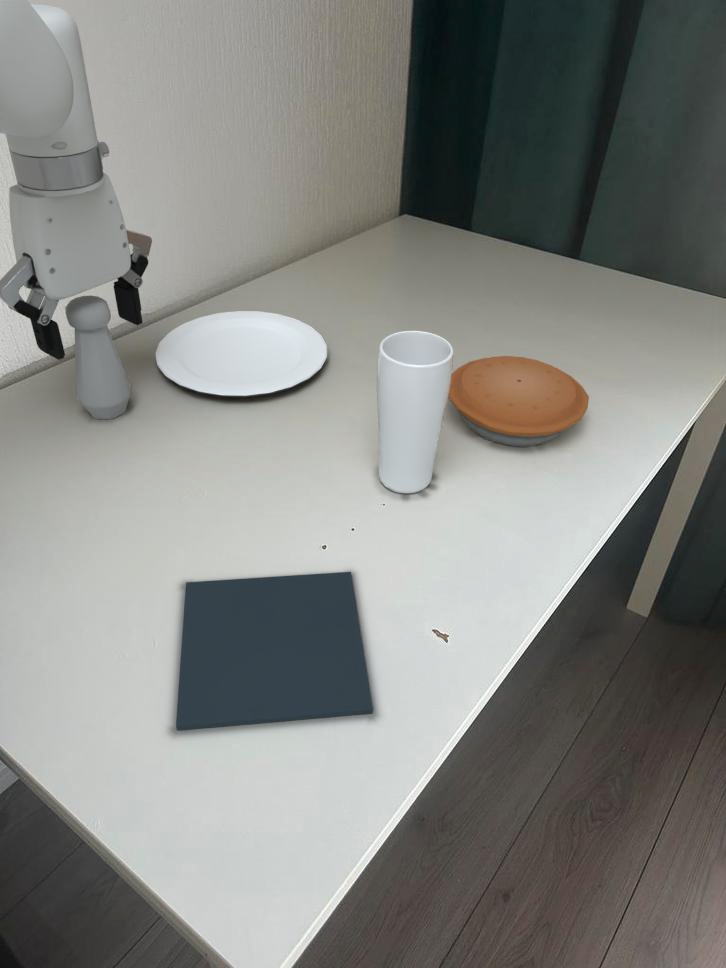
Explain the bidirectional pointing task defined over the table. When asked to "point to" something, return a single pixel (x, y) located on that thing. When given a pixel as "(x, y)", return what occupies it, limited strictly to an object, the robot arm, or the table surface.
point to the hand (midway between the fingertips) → (93, 337)
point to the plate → (241, 354)
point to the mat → (271, 651)
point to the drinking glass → (411, 406)
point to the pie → (516, 399)
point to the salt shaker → (97, 359)
